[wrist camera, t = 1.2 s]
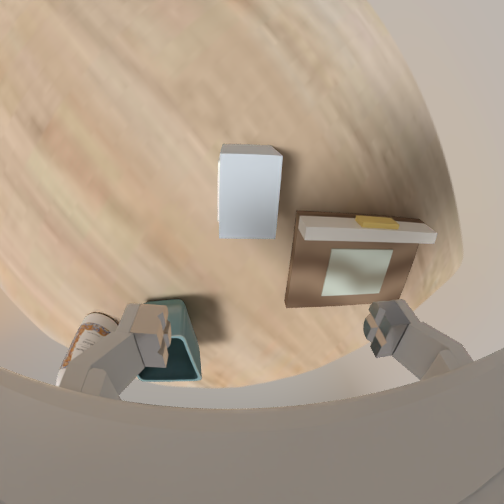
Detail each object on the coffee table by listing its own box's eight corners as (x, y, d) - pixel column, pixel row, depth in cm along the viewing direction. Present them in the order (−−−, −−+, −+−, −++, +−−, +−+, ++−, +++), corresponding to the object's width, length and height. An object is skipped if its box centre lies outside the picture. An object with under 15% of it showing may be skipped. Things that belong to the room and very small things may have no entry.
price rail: (300, 210, 29) (307, 221, 27) (426, 219, 31) (438, 229, 28) (298, 228, 30) (304, 240, 28) (422, 233, 32) (434, 243, 29)
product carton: (219, 210, 30) (216, 238, 24) (220, 143, 27) (217, 153, 21) (266, 211, 31) (275, 239, 25) (270, 145, 27) (282, 155, 21)
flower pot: (206, 332, 39) (202, 381, 31) (151, 336, 39) (140, 382, 31) (192, 285, 35) (184, 335, 27) (131, 291, 35) (112, 338, 27)
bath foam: (124, 320, 37) (86, 438, 20) (121, 347, 40) (91, 452, 23) (84, 305, 36) (33, 413, 18) (84, 333, 38) (45, 432, 21)
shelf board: (296, 210, 31) (300, 216, 29) (419, 219, 32) (425, 224, 31) (284, 300, 37) (286, 308, 36) (393, 295, 39) (398, 302, 37)
